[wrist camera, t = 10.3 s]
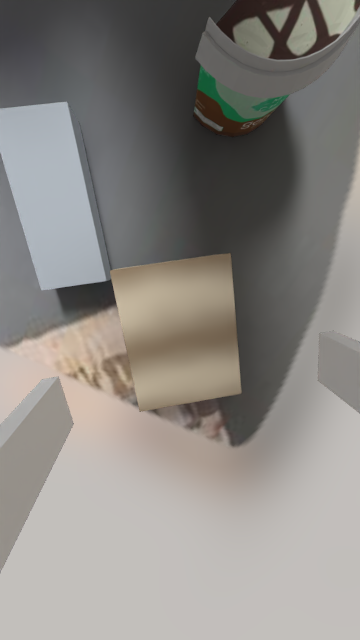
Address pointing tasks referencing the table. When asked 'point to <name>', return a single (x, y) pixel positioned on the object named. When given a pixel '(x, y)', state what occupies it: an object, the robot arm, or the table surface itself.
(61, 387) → the robot arm
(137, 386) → the gold metallic plate
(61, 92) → the table surface
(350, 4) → the food container
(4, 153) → the light gray rectangular block
